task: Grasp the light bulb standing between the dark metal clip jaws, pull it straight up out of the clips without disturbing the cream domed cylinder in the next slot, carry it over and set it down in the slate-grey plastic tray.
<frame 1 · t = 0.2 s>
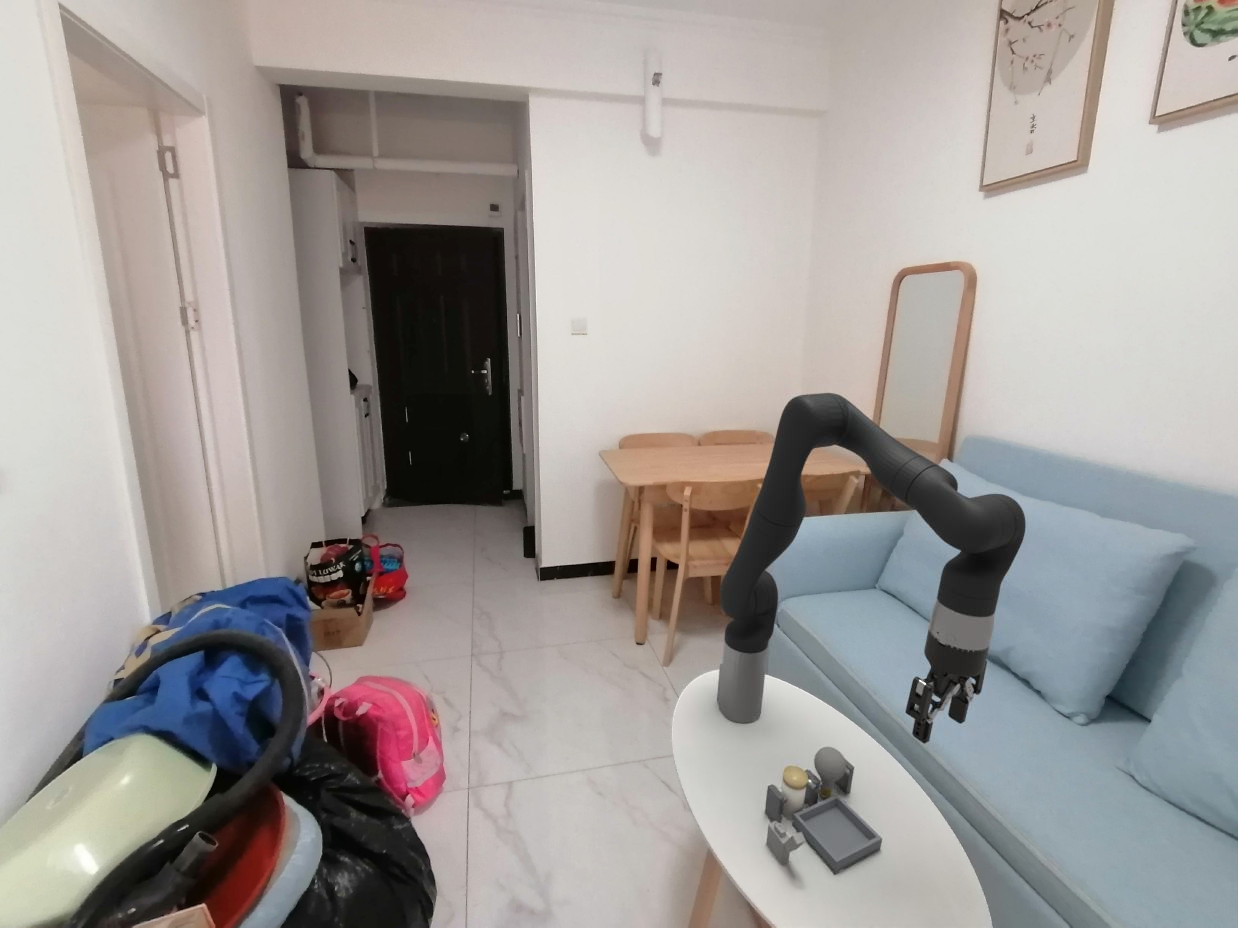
hand: (938, 729, 88), 28 cm above the table, fingers open, 8 cm apart
clip block: (825, 795, 112), on the table
tray: (835, 837, 103), on the table
light bulb: (825, 796, 112), on the table
cream domed cylinder: (790, 810, 108), on the table
lighter: (782, 860, 99), on the table
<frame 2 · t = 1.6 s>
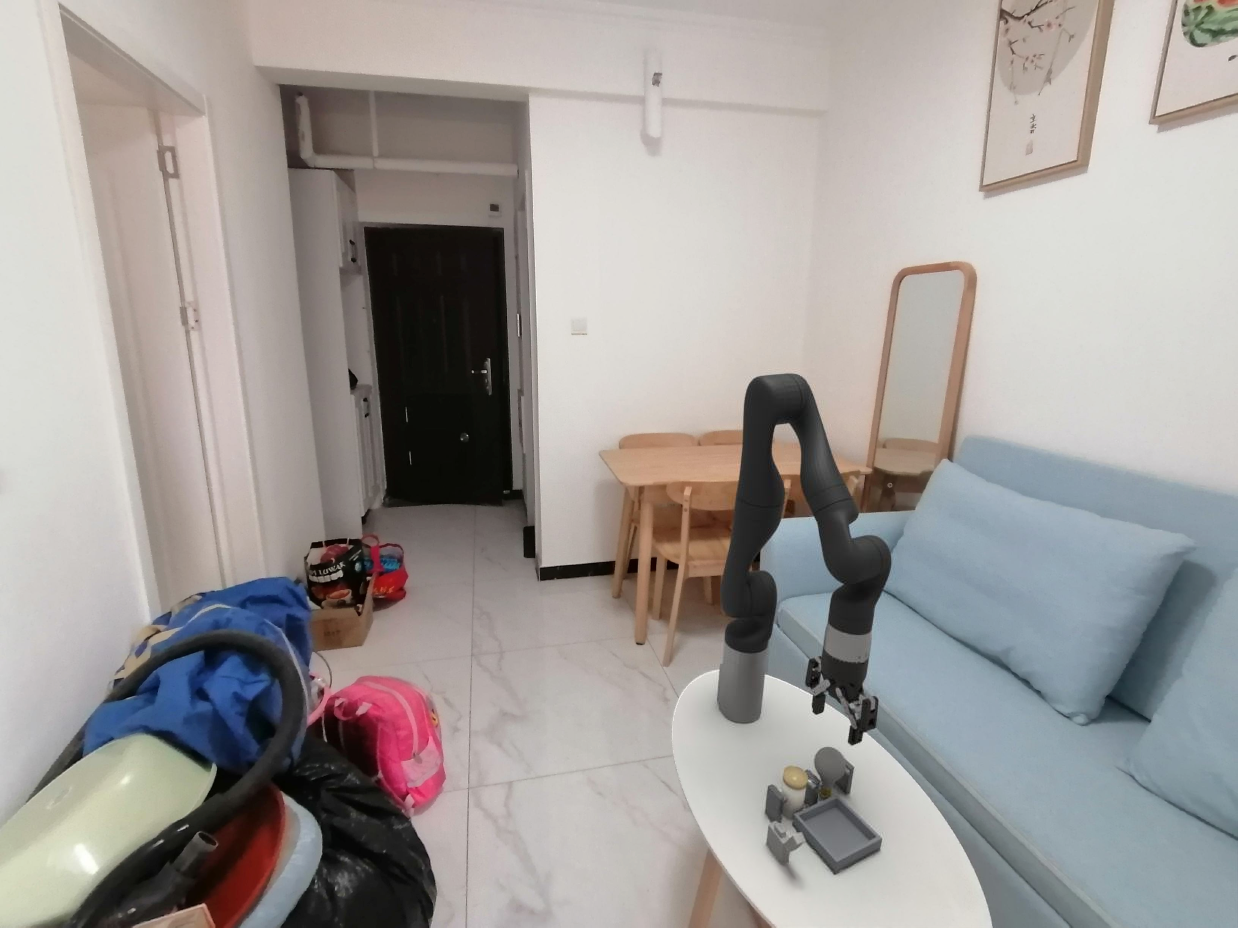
hand: (835, 727, 107), 15 cm above the table, fingers open, 8 cm apart
nothing on the table moved.
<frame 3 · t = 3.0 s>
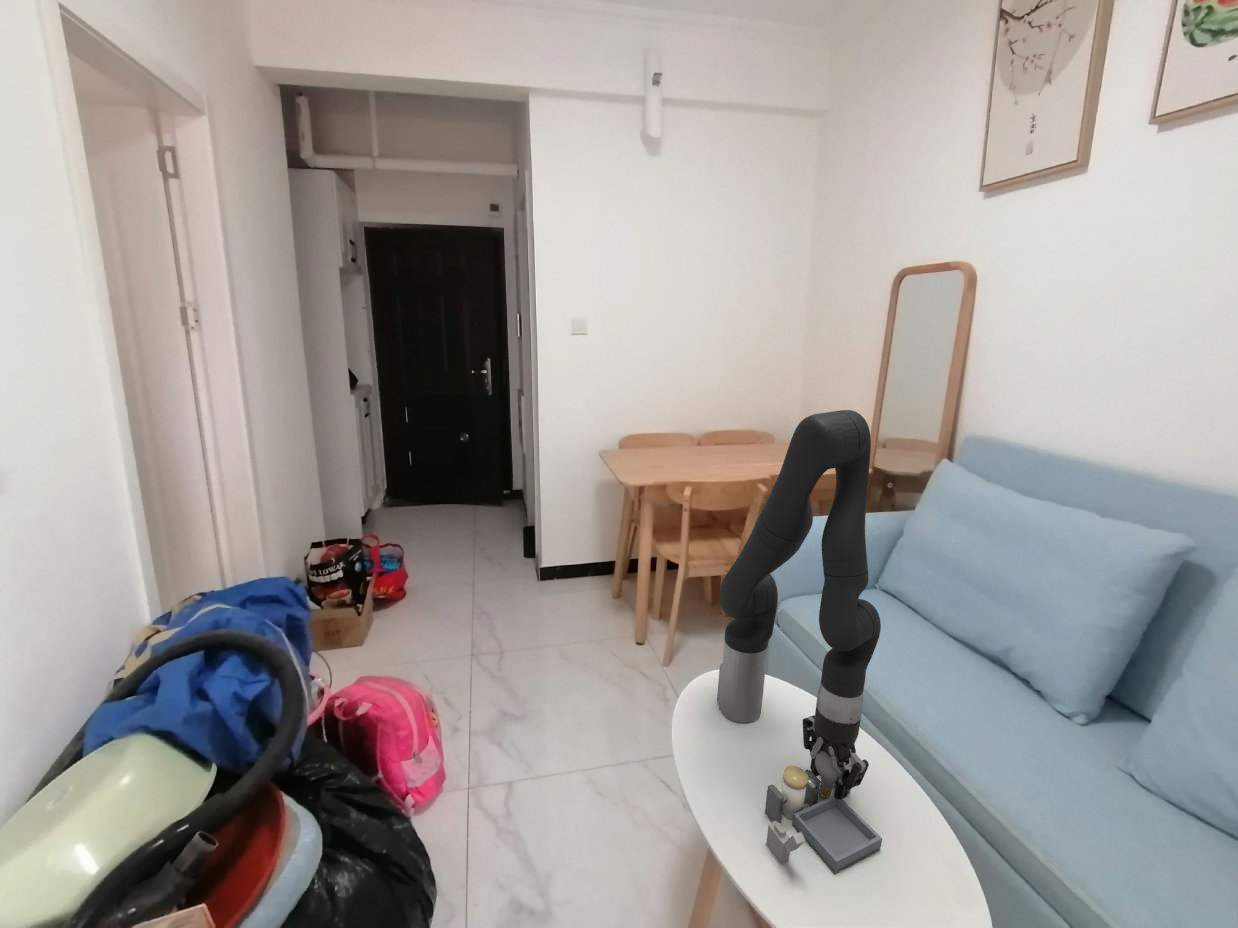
hand: (827, 785, 111), 3 cm above the table, fingers closed on light bulb, 5 cm apart
light bulb: (825, 795, 112), on the table, touching gripper
everything else where it was.
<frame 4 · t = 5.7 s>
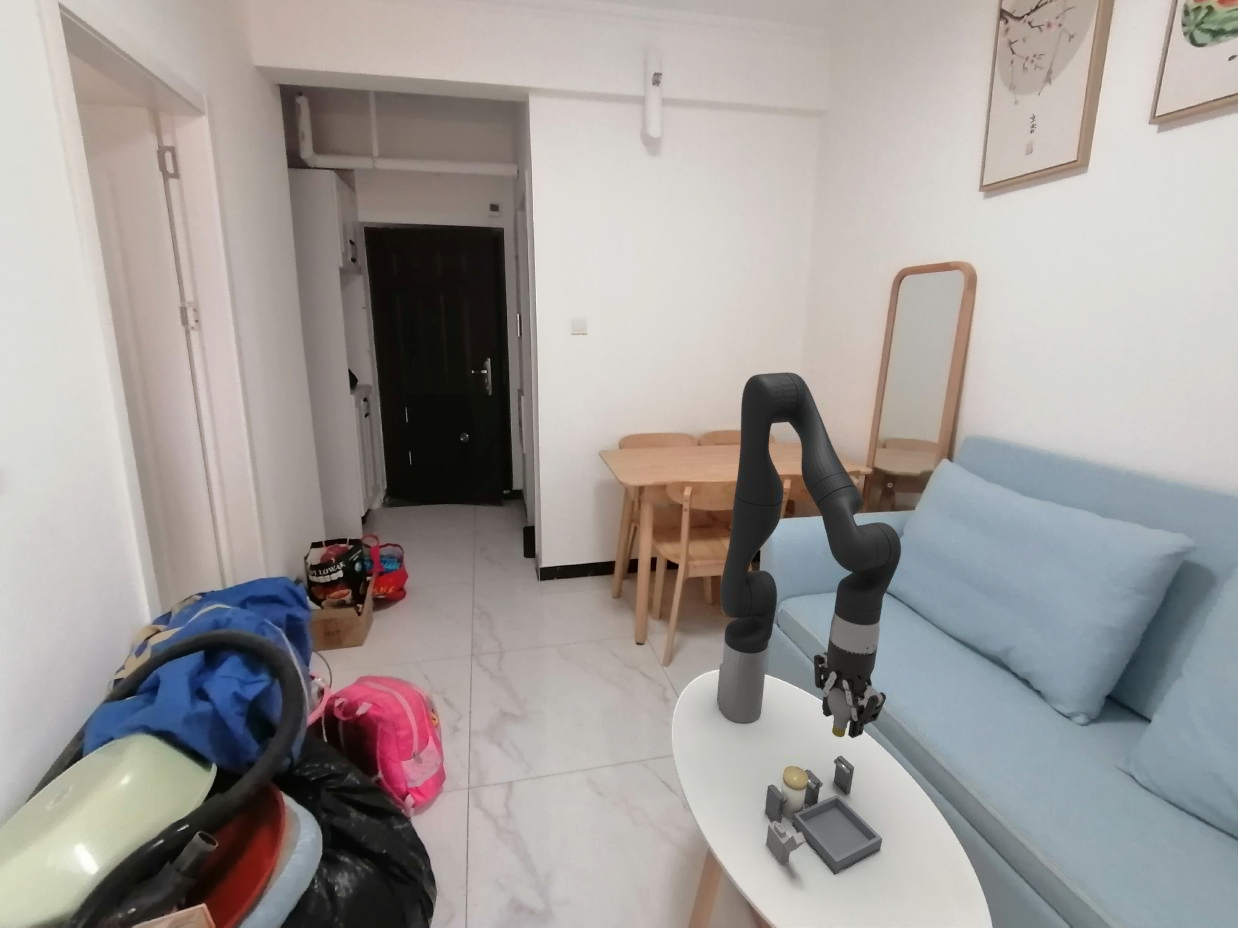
hand: (841, 724, 104), 18 cm above the table, fingers closed on light bulb, 5 cm apart
light bulb: (837, 736, 105), point 15 cm above the table, touching gripper
everything else where it was.
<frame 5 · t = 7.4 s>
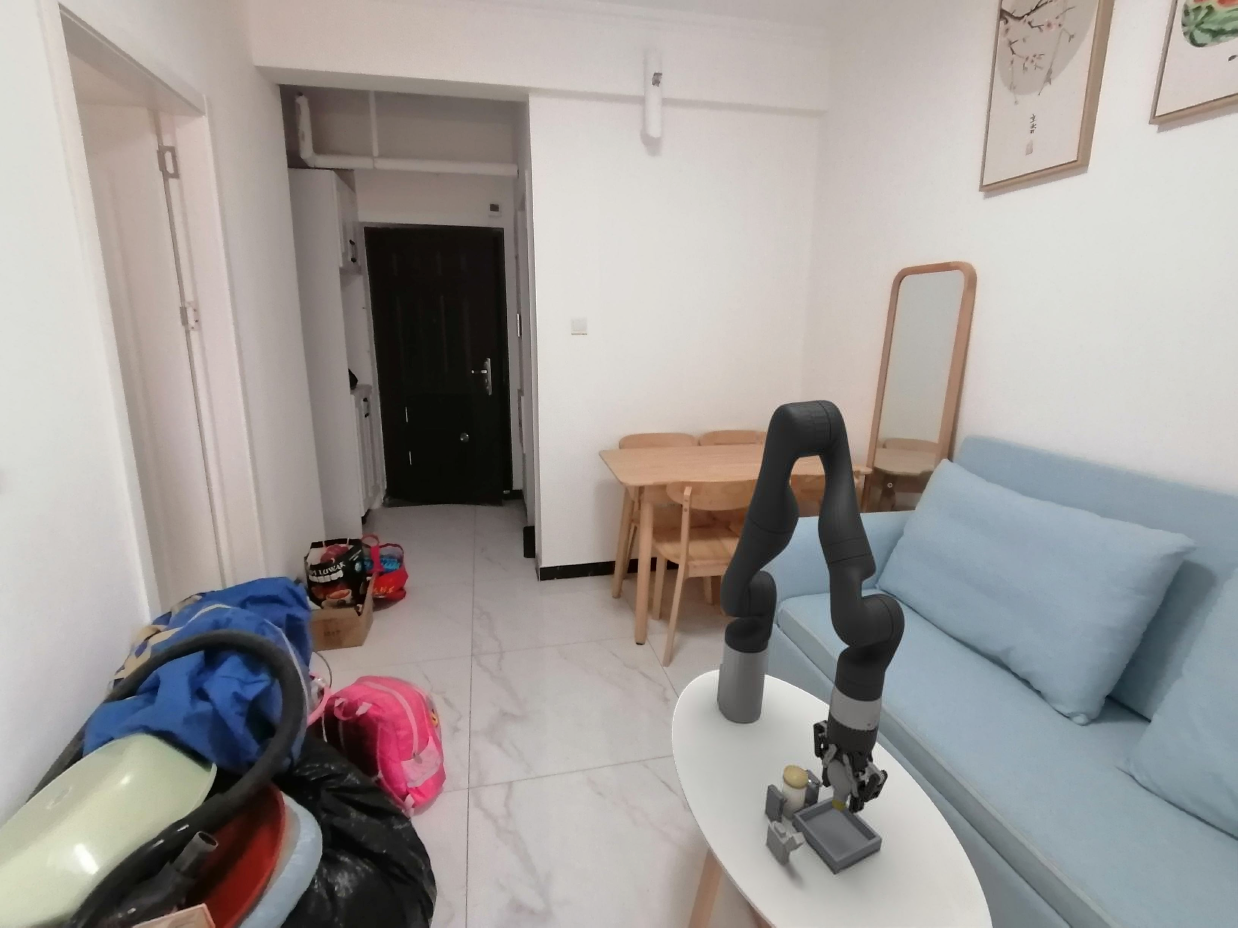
hand: (841, 797, 101), 9 cm above the table, fingers closed on light bulb, 5 cm apart
light bulb: (838, 808, 102), point 6 cm above the table, touching gripper
everything else where it was.
when the fingers open (4 cm above the table, at t = 8.6 s): light bulb drops 1 cm, resting on tray.
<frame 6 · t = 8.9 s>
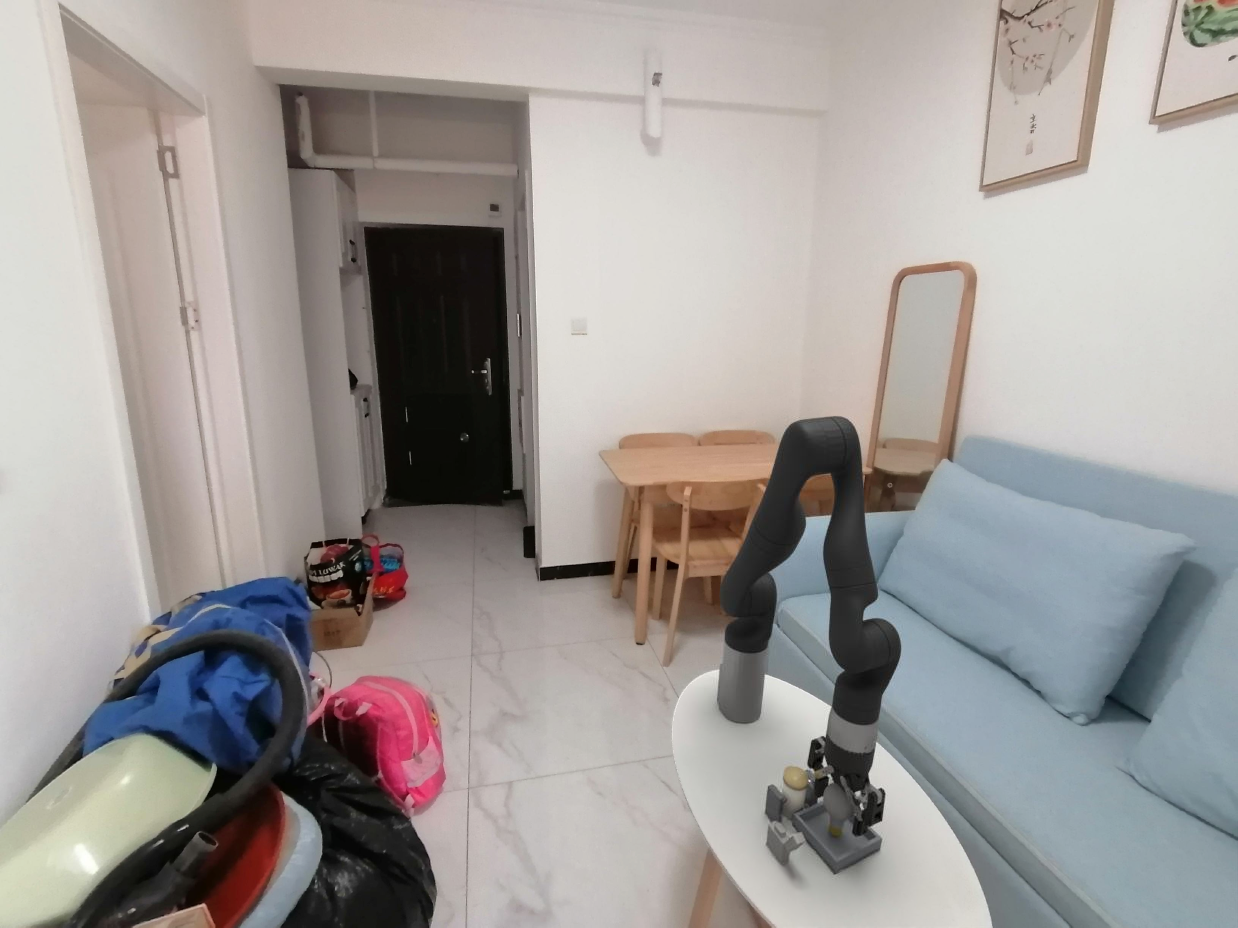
hand: (838, 813, 102), 5 cm above the table, fingers open, 8 cm apart
light bulb: (834, 834, 103), resting on tray
everything else where it was.
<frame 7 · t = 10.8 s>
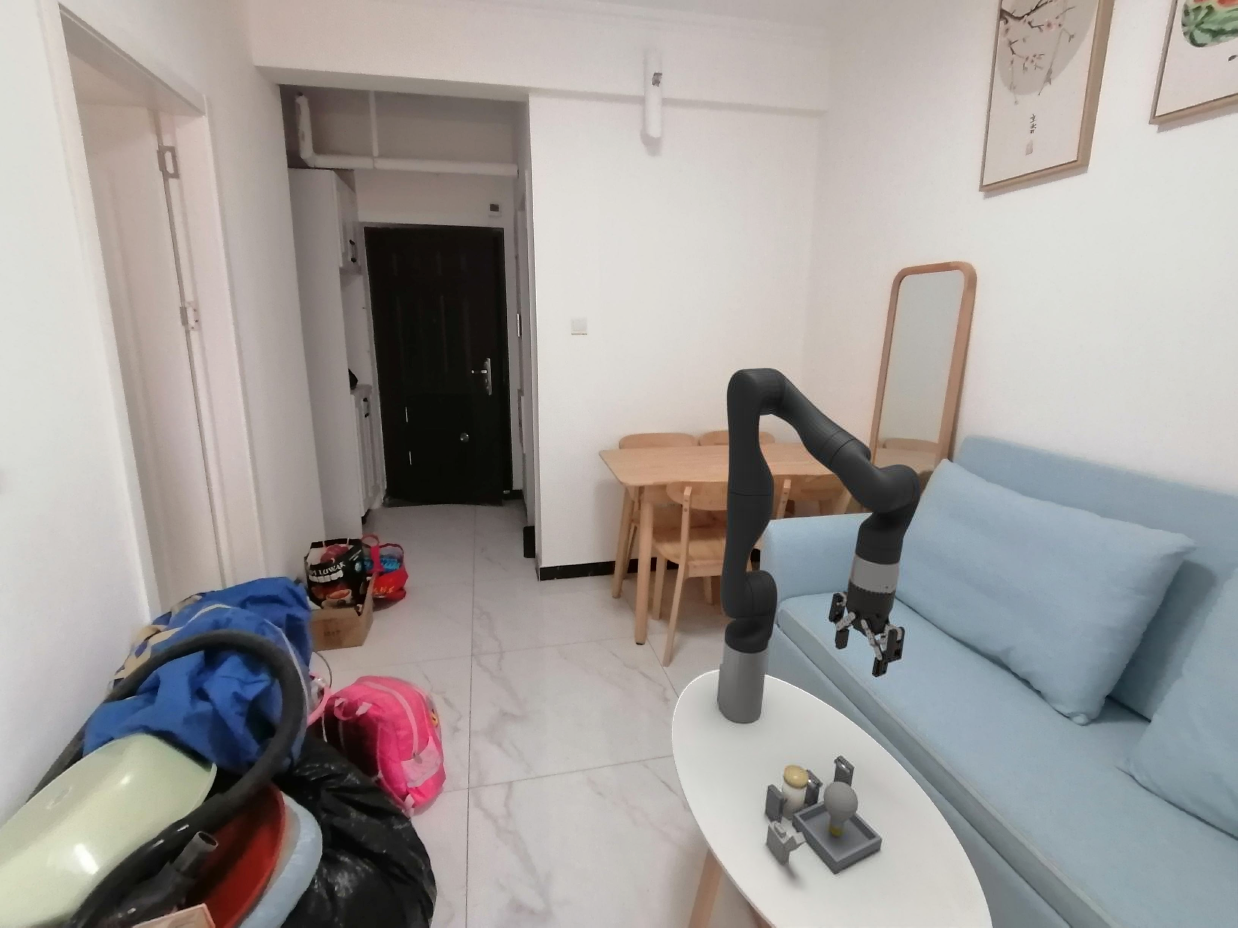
hand: (858, 660, 107), 27 cm above the table, fingers open, 8 cm apart
nothing on the table moved.
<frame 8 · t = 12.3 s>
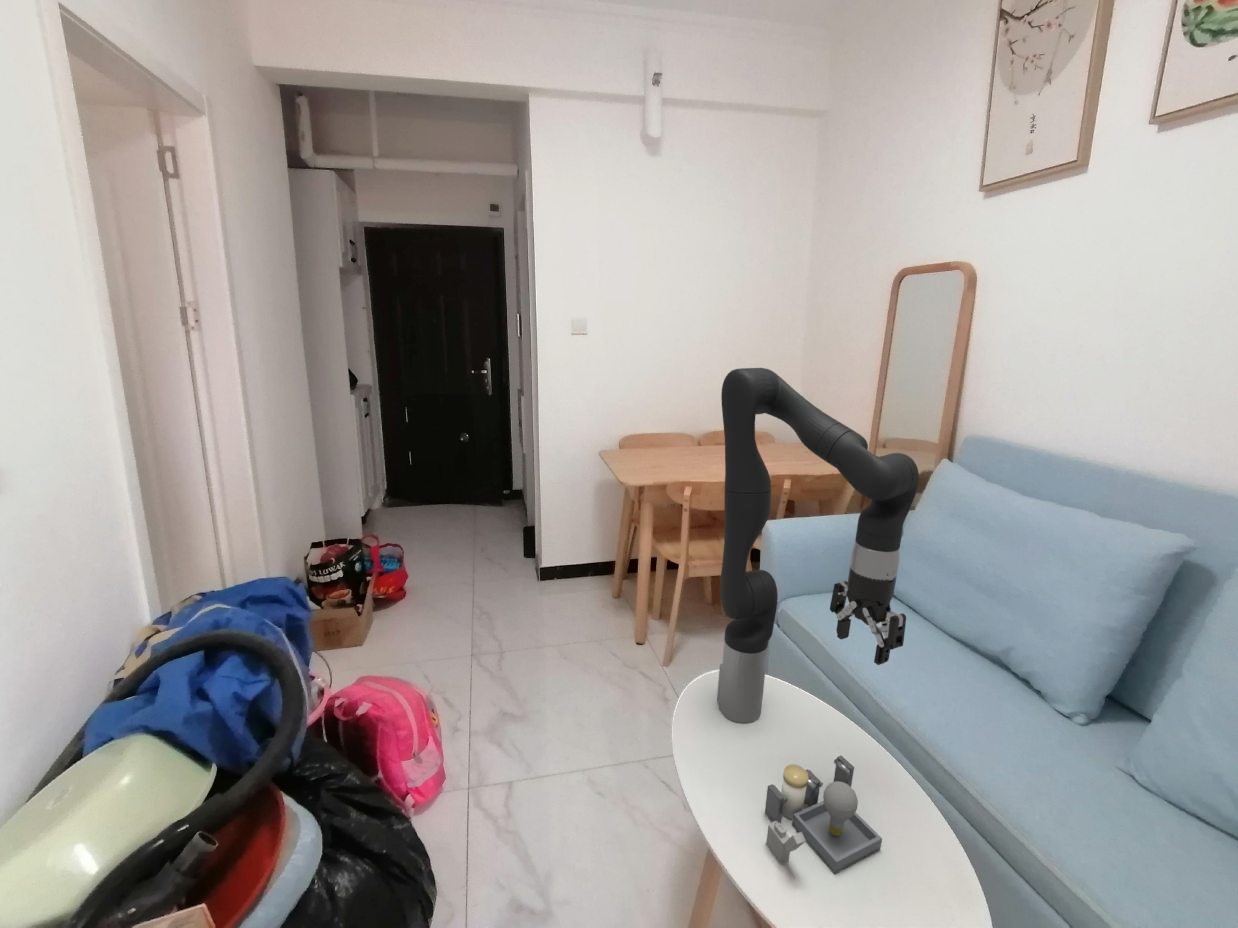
hand: (860, 649, 108), 28 cm above the table, fingers open, 8 cm apart
nothing on the table moved.
at the end: light bulb inside the target area on the tray (0.2 cm from its centre), point 0.4 cm above the tray's base; the gripper is holding nothing; cream domed cylinder moved 0.1 cm from its start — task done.
